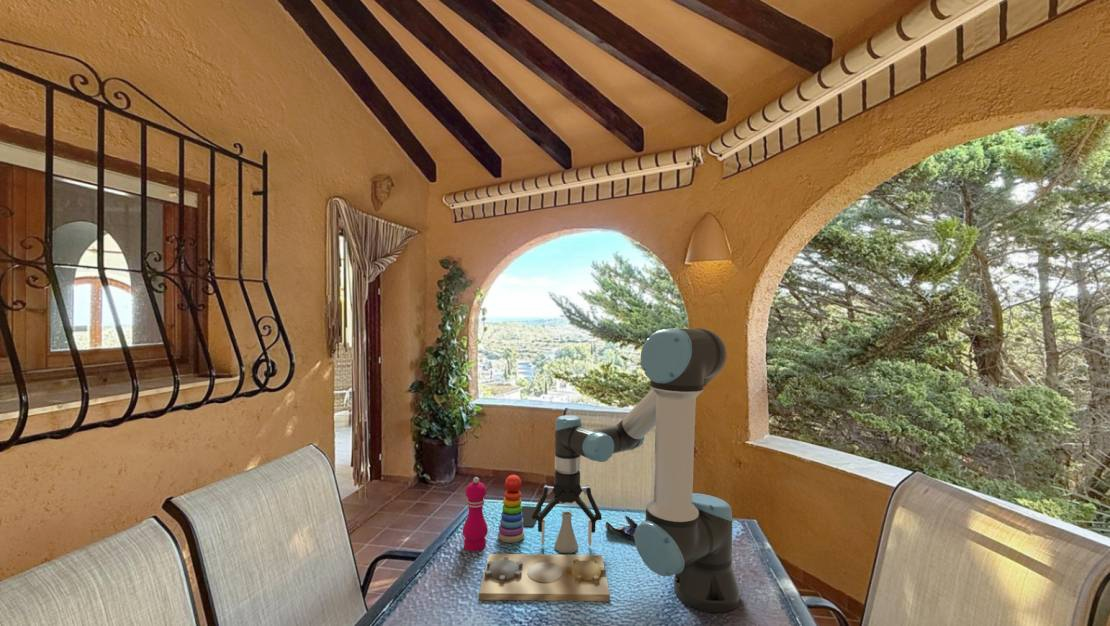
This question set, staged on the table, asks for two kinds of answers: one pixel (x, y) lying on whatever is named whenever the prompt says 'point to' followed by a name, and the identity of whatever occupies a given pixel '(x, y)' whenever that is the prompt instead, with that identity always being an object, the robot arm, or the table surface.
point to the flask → (566, 535)
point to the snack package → (624, 529)
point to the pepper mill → (475, 517)
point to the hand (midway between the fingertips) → (566, 543)
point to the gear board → (544, 578)
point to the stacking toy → (511, 512)
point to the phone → (528, 516)
